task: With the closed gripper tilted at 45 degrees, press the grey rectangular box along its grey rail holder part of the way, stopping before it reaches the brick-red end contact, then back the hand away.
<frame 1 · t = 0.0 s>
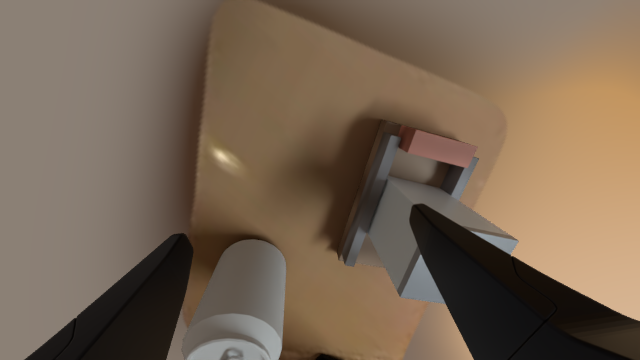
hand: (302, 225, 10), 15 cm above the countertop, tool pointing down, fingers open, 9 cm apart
grey rectangular box: (423, 231, 21), point 7 cm above the countertop, slide at 0.0 cm
can: (254, 261, 29), on the countertop
grey rail holder: (394, 200, 27), on the countertop
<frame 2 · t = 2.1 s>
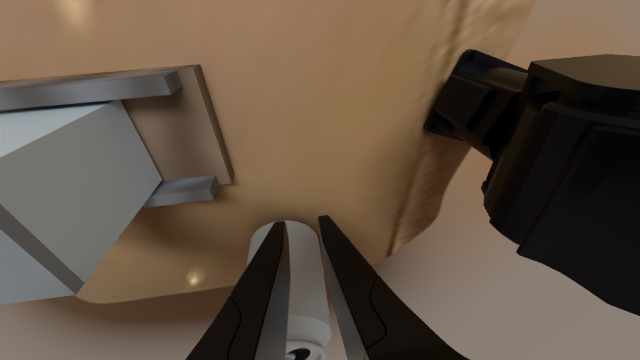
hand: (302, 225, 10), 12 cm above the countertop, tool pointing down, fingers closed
grey rectangular box: (43, 187, 13), point 7 cm above the countertop, slide at 0.0 cm
can: (285, 237, 27), on the countertop
grey rail holder: (114, 137, 19), on the countertop
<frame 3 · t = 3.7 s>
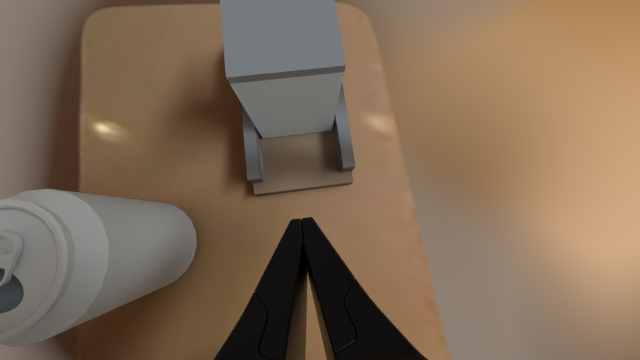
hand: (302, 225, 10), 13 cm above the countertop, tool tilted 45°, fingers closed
grey rectangular box: (288, 74, 18), point 7 cm above the countertop, slide at 0.0 cm
can: (161, 243, 22), on the countertop
grey rail holder: (295, 112, 25), on the countertop
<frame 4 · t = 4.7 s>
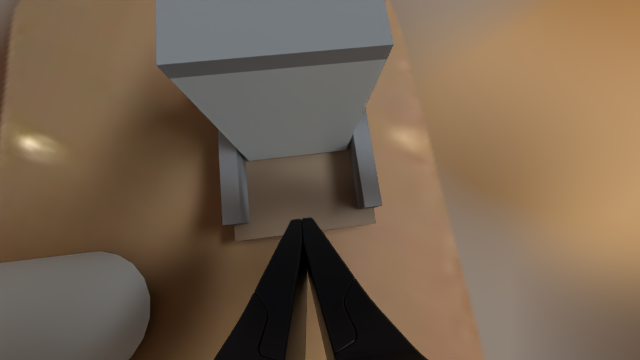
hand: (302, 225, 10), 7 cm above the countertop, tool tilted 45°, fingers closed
grey rectangular box: (285, 68, 12), point 7 cm above the countertop, slide at 0.0 cm
can: (102, 309, 16), on the countertop
grey rail holder: (294, 124, 18), on the countertop
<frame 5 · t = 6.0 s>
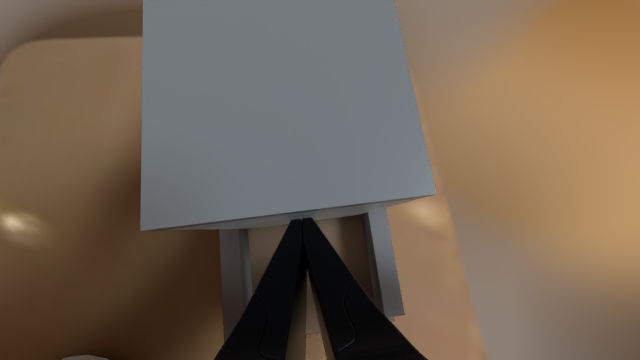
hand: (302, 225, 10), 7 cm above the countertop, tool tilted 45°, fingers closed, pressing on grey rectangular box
grey rectangular box: (294, 149, 10), point 7 cm above the countertop, slide at 1.3 cm, touching gripper
grey rail holder: (303, 197, 17), on the countertop
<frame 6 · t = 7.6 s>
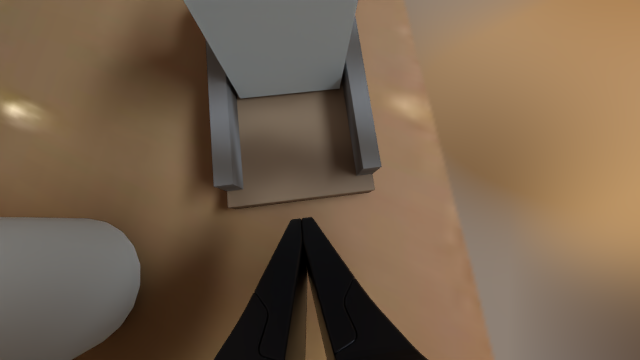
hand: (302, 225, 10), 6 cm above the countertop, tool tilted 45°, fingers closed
can: (91, 279, 15), on the countertop
grey rail holder: (290, 91, 18), on the countertop
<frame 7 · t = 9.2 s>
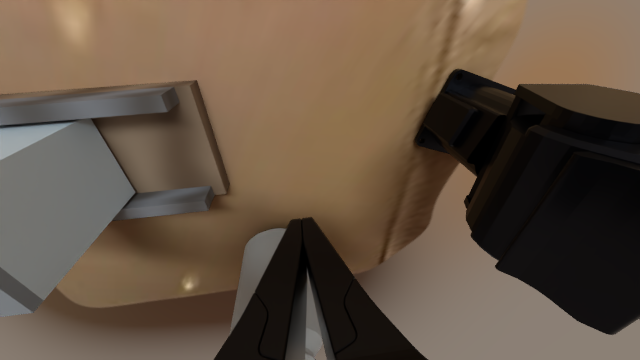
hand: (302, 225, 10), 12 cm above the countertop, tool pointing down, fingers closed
grey rectangular box: (8, 204, 14), point 7 cm above the countertop, slide at 1.8 cm
can: (279, 245, 28), on the countertop
grey rail holder: (111, 148, 19), on the countertop
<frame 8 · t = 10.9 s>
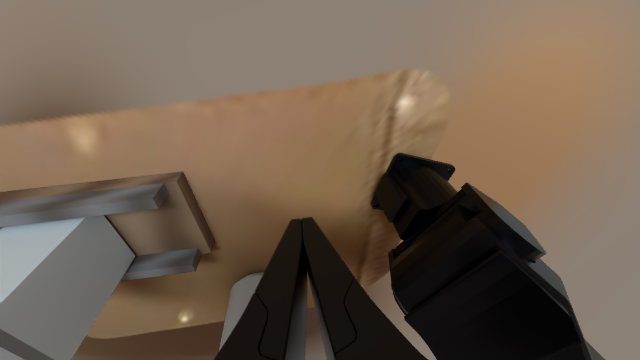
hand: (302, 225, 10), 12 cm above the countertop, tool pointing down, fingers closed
grey rectangular box: (36, 287, 18), point 7 cm above the countertop, slide at 1.8 cm
can: (262, 284, 32), on the countertop
grey rail holder: (115, 220, 23), on the countertop
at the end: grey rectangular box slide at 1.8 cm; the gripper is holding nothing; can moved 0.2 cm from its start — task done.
